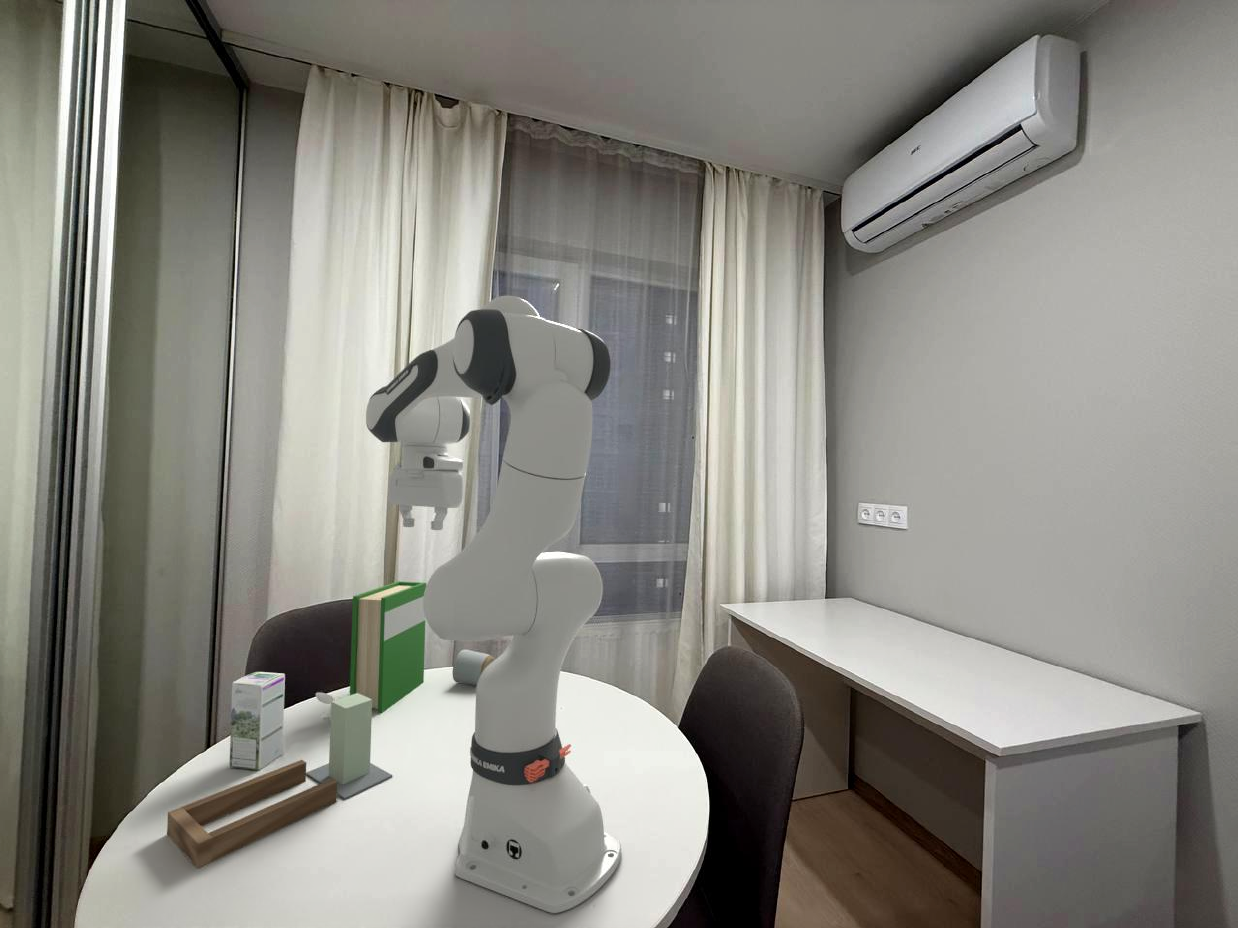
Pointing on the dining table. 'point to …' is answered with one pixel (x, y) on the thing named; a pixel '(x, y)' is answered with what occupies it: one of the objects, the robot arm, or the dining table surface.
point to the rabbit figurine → (325, 699)
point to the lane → (252, 827)
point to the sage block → (350, 738)
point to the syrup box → (257, 720)
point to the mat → (354, 785)
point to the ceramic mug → (470, 666)
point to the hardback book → (388, 643)
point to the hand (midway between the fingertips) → (422, 528)
